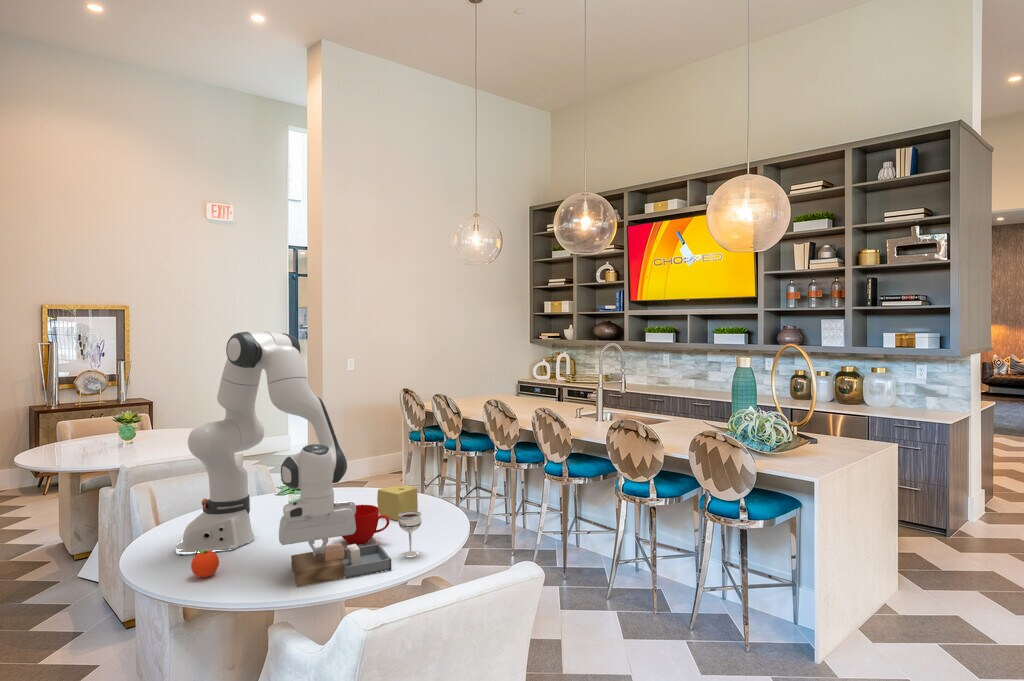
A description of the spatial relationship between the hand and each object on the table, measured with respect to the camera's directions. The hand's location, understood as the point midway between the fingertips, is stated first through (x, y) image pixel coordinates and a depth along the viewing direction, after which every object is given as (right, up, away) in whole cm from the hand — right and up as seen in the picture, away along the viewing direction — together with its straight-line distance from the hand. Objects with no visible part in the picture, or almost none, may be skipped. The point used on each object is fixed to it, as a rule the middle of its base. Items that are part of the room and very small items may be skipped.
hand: (318, 554), depth 168 cm
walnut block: (0, -5, 0) cm, 5 cm away
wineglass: (+23, -5, +14) cm, 27 cm away
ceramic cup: (+7, -5, +25) cm, 26 cm away
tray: (+11, -5, +6) cm, 13 cm away
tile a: (+7, -2, +4) cm, 9 cm away
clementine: (-31, -6, 0) cm, 32 cm away
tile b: (+4, -1, +2) cm, 4 cm away
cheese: (+12, -4, +52) cm, 53 cm away
